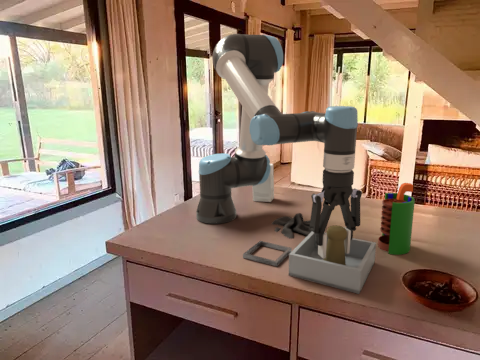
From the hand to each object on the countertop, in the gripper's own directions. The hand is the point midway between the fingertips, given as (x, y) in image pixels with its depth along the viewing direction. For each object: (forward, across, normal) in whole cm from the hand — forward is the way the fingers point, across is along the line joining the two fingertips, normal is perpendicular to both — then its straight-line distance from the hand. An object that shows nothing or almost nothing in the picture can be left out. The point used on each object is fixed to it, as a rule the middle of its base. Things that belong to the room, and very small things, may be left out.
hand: (333, 253), depth 97 cm
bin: (+4, 0, 0) cm, 4 cm away
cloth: (+5, +4, +28) cm, 29 cm away
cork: (+4, 0, 0) cm, 4 cm away
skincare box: (+5, +6, +63) cm, 63 cm away
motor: (+5, +25, +5) cm, 26 cm away
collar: (+4, -13, +14) cm, 20 cm away
